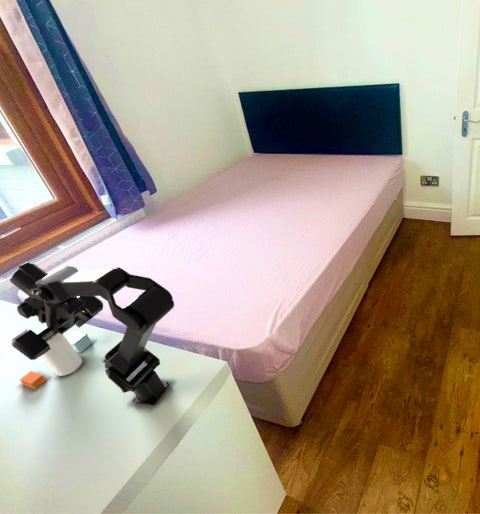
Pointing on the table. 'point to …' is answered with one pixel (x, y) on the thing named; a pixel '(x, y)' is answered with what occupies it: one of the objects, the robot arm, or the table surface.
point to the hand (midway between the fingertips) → (61, 338)
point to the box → (79, 341)
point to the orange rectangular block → (33, 379)
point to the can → (62, 356)
